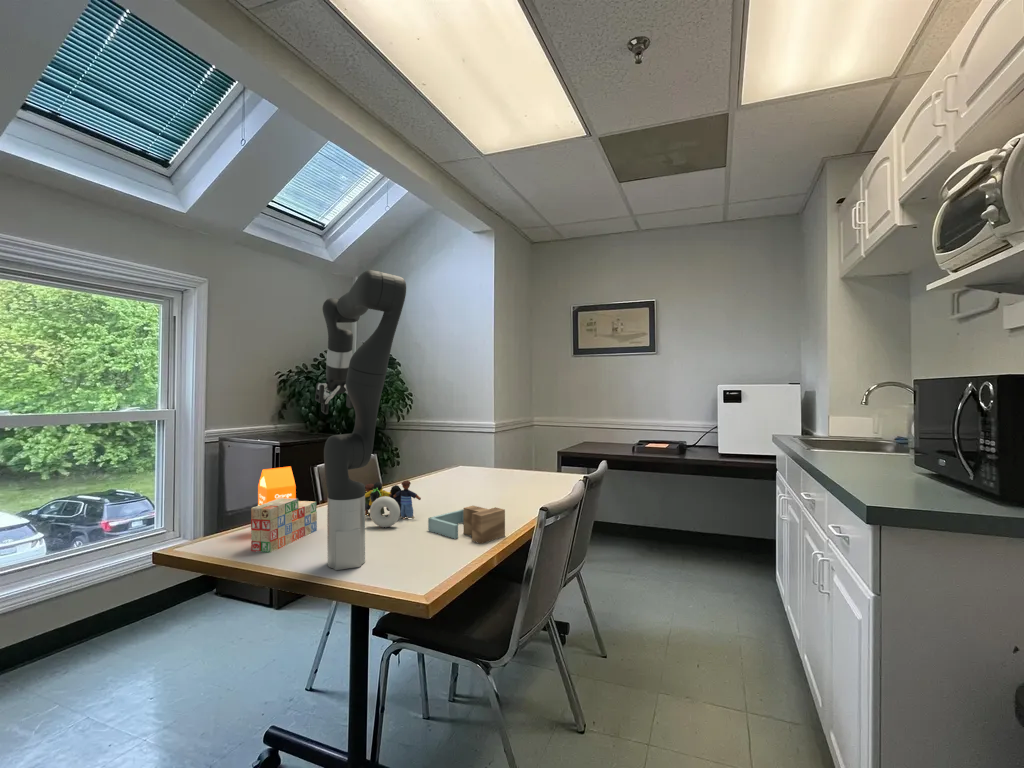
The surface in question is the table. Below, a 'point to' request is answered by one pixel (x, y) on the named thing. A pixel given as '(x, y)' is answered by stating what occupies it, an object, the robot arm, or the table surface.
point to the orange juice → (276, 485)
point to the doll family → (396, 493)
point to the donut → (376, 513)
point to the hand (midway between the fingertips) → (337, 410)
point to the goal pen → (446, 523)
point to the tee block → (484, 523)
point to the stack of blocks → (281, 523)
